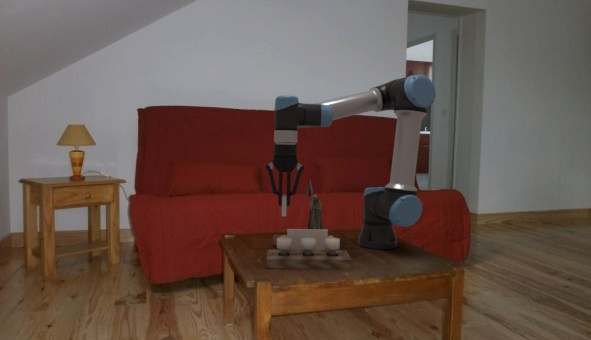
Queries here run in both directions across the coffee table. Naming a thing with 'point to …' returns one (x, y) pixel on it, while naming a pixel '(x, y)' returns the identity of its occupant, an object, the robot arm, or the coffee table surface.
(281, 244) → the button
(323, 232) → the card
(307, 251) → the button
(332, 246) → the button
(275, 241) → the stone
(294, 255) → the board
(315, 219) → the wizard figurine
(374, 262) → the coffee table surface
